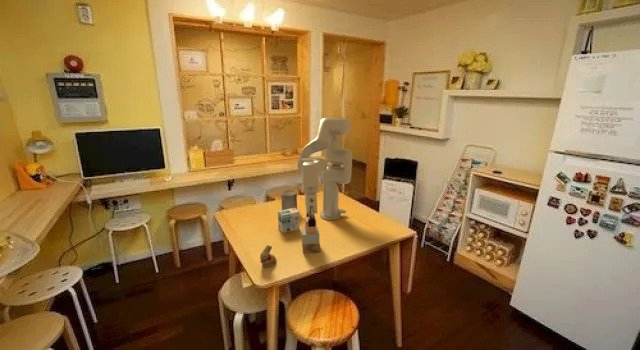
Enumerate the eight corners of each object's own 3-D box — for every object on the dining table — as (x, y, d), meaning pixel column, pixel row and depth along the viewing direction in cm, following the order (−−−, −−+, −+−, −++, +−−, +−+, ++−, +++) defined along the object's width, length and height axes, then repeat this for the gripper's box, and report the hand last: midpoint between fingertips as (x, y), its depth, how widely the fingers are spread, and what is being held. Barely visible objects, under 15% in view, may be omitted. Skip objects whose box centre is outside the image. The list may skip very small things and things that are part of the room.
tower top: (317, 235, 144) (317, 226, 142) (319, 243, 136) (319, 234, 135) (301, 236, 143) (301, 227, 142) (302, 244, 135) (302, 234, 134)
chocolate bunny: (258, 263, 129) (257, 243, 126) (275, 258, 132) (274, 239, 129) (261, 269, 124) (260, 249, 121) (279, 265, 127) (278, 245, 125)
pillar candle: (290, 208, 189) (289, 186, 184) (300, 212, 182) (299, 190, 178) (278, 212, 182) (277, 190, 178) (288, 217, 176) (287, 194, 171)
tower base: (317, 244, 145) (317, 235, 144) (319, 252, 138) (319, 243, 136) (302, 245, 144) (301, 236, 143) (303, 253, 137) (303, 244, 135)
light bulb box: (282, 233, 156) (281, 215, 153) (278, 228, 161) (277, 210, 158) (300, 229, 160) (299, 211, 157) (295, 224, 166) (295, 207, 163)
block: (315, 227, 141) (315, 216, 139) (316, 232, 136) (316, 221, 135) (305, 228, 141) (304, 217, 139) (305, 233, 136) (305, 221, 134)
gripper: (320, 194, 125) (320, 229, 130) (316, 182, 141) (316, 213, 146) (303, 195, 124) (304, 231, 129) (301, 182, 140) (301, 214, 145)
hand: (310, 221), depth 138 cm, fingers open, 9 cm apart
